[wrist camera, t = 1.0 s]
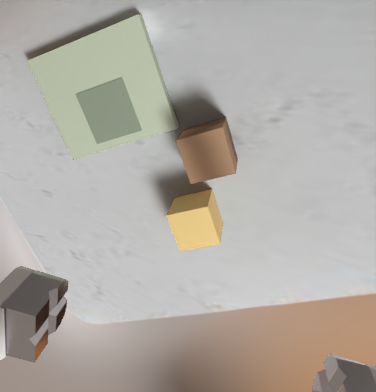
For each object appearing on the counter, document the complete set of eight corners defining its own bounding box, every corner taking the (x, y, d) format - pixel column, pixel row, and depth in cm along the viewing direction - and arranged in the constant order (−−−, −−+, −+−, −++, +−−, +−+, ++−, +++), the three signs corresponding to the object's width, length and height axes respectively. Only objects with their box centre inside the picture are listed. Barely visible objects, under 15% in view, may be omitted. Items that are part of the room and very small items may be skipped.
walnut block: (226, 117, 37) (222, 127, 32) (237, 158, 38) (235, 173, 34) (184, 129, 38) (175, 140, 33) (197, 168, 40) (190, 184, 35)
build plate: (141, 15, 34) (137, 14, 32) (179, 126, 38) (176, 129, 37) (33, 60, 38) (26, 61, 36) (77, 156, 42) (72, 160, 41)
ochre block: (212, 188, 40) (207, 206, 36) (223, 222, 42) (220, 244, 38) (175, 197, 42) (166, 215, 37) (187, 230, 44) (180, 251, 39)
